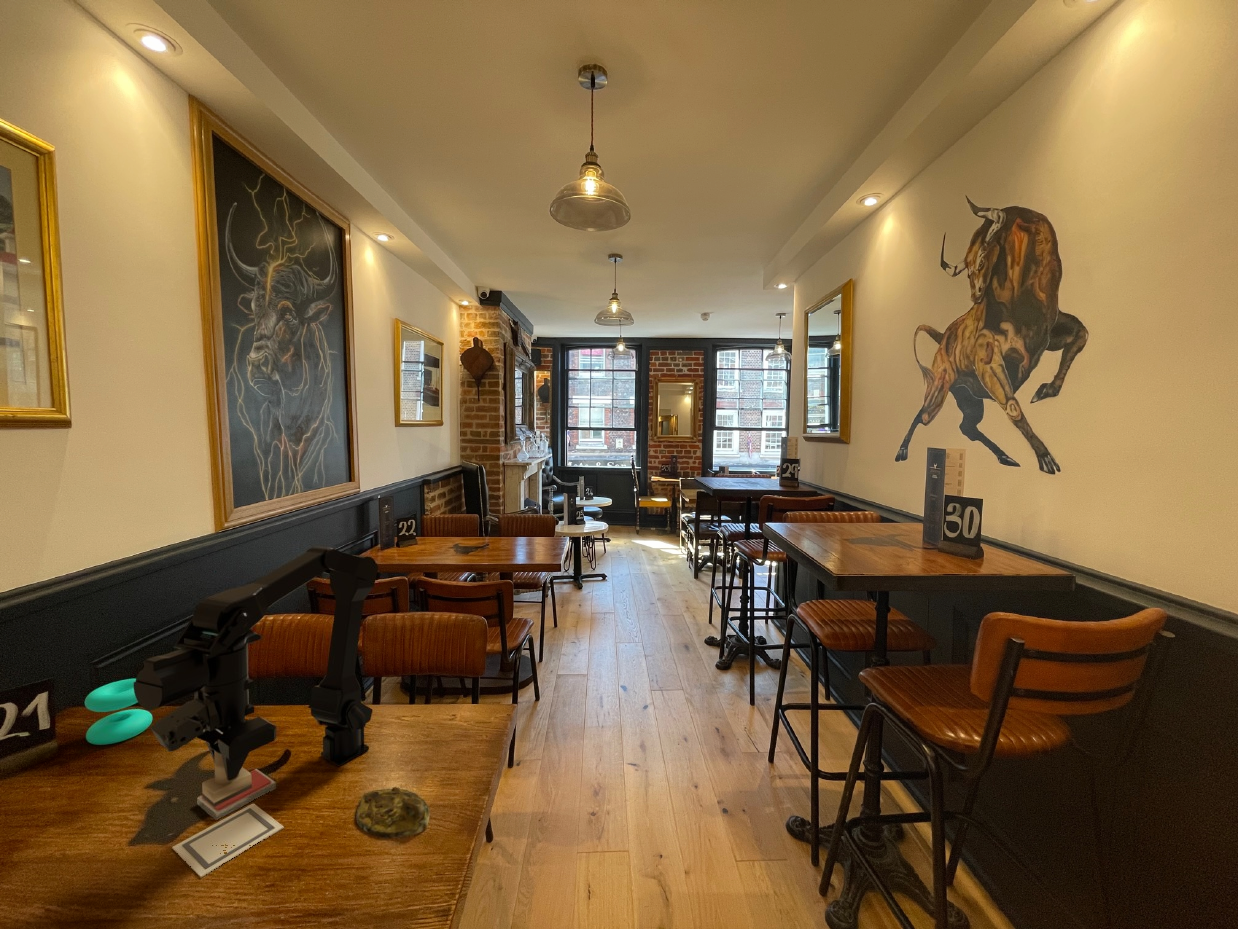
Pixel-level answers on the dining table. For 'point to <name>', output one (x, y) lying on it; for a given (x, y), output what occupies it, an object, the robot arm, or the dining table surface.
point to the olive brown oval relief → (392, 813)
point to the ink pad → (240, 796)
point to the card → (226, 839)
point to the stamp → (225, 783)
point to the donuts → (118, 723)
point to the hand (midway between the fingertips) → (227, 775)
